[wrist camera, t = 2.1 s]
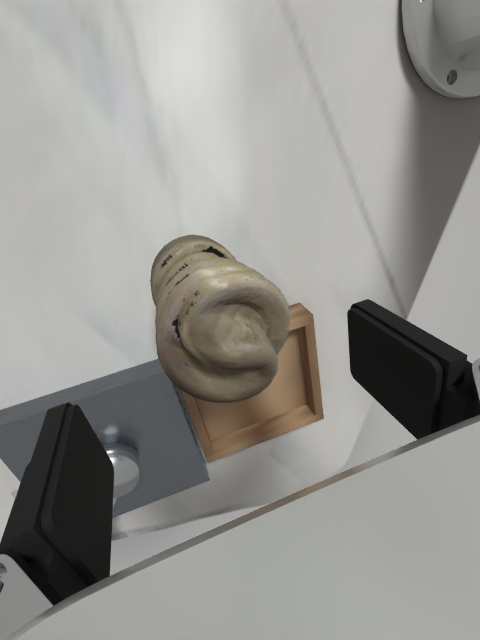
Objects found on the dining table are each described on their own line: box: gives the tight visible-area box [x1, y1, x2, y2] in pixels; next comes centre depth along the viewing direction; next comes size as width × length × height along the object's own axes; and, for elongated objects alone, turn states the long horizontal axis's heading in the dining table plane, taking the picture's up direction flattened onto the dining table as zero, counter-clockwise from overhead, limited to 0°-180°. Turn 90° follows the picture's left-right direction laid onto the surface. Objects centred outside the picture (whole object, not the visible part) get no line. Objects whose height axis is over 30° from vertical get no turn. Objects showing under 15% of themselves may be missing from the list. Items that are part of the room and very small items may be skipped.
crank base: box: [0, 359, 210, 518], centre depth 29 cm, size 15×14×2 cm
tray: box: [180, 303, 324, 463], centre depth 30 cm, size 12×12×2 cm
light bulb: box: [150, 235, 290, 403], centre depth 18 cm, size 6×6×15 cm
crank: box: [102, 443, 139, 507], centre depth 26 cm, size 11×4×8 cm, turn 157°
